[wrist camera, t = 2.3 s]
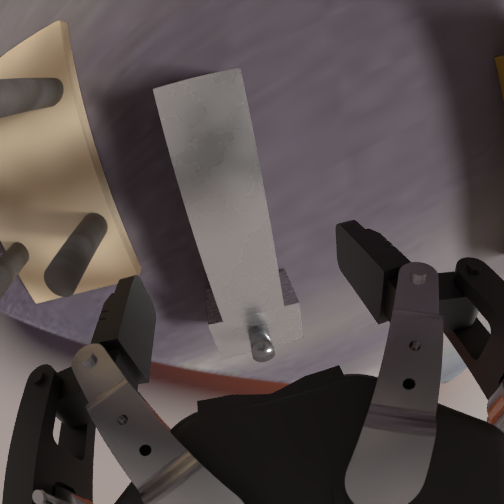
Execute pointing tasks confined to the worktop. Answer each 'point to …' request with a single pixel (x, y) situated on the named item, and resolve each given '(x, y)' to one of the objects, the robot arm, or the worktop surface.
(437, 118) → the worktop surface
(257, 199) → the grey pegged bar
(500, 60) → the bread
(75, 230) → the rack
